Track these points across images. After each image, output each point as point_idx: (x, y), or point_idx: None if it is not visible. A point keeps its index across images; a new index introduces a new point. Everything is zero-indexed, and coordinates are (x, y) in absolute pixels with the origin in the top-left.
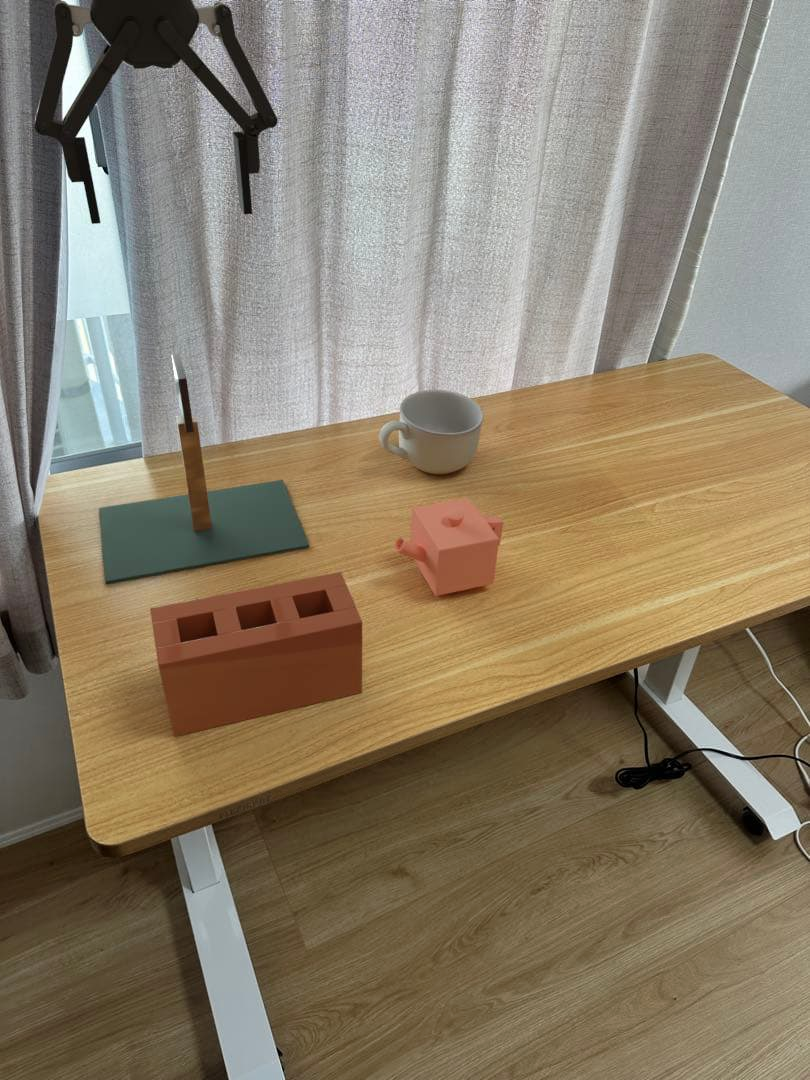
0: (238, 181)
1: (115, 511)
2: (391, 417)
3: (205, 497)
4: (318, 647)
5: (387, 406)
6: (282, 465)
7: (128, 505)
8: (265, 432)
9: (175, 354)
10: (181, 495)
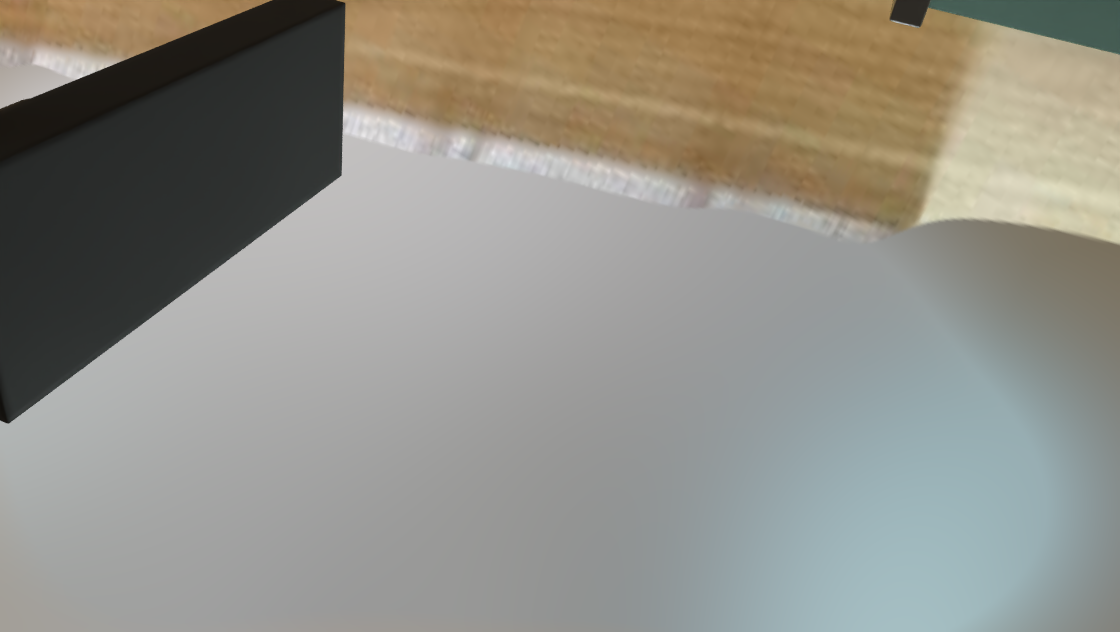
0: (245, 190)
1: (1118, 20)
2: None
3: None
4: None
5: None
6: (627, 17)
7: (1071, 31)
8: (603, 178)
9: (907, 16)
10: None
